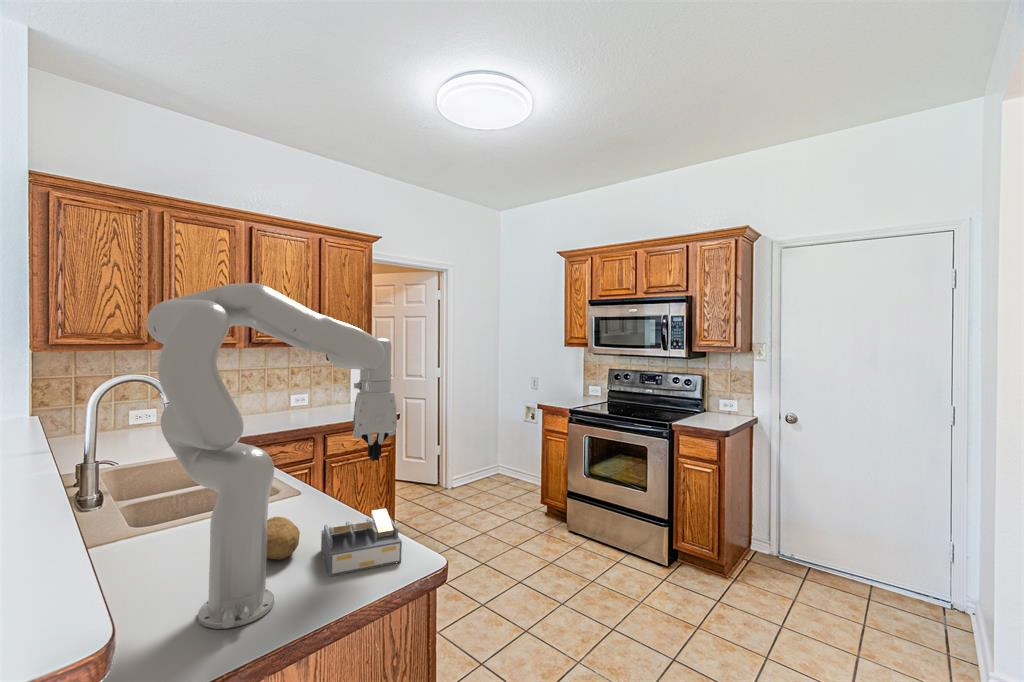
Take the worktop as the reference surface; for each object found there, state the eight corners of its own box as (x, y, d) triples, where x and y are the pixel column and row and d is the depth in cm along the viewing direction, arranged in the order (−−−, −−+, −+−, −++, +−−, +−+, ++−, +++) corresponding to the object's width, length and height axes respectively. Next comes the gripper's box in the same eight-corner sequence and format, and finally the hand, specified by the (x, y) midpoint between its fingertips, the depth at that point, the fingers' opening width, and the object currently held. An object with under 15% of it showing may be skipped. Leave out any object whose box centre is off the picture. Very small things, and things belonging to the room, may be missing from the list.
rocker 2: (372, 527, 113) (372, 521, 113) (356, 530, 111) (356, 523, 112) (365, 527, 119) (365, 521, 120) (350, 530, 118) (350, 523, 118)
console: (401, 562, 113) (402, 532, 113) (329, 577, 105) (330, 544, 105) (386, 539, 126) (387, 511, 125) (321, 550, 118) (321, 521, 118)
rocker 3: (393, 534, 116) (393, 530, 115) (377, 537, 114) (378, 532, 114) (385, 513, 122) (386, 508, 122) (371, 515, 121) (371, 510, 120)
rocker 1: (350, 531, 110) (350, 524, 111) (334, 533, 109) (333, 527, 109) (344, 530, 117) (344, 524, 117) (328, 533, 115) (328, 527, 116)
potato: (256, 574, 106) (257, 538, 106) (252, 548, 118) (253, 516, 118) (304, 564, 111) (305, 530, 111) (296, 541, 123) (297, 510, 123)
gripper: (347, 390, 114) (346, 466, 114) (409, 387, 121) (407, 459, 122) (341, 386, 120) (340, 459, 121) (400, 384, 128) (399, 452, 128)
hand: (374, 459), depth 121 cm, fingers closed
